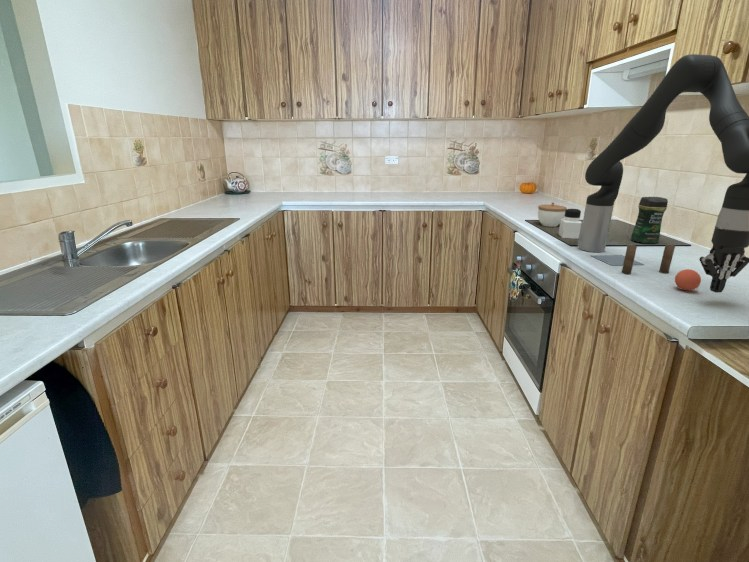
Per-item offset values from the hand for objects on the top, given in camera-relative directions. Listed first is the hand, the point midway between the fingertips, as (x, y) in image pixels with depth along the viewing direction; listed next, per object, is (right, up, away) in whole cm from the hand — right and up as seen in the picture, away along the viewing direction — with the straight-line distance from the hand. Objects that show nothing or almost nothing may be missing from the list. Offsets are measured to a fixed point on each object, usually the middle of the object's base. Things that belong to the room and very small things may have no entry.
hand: (715, 291), depth 112 cm
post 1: (-9, +5, +24) cm, 26 cm away
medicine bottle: (-6, +22, +72) cm, 75 cm away
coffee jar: (+22, +19, +65) cm, 71 cm away
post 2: (+4, +6, +25) cm, 26 cm away
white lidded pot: (-5, +30, +95) cm, 99 cm away
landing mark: (-5, +10, +38) cm, 39 cm away
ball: (-1, +3, +9) cm, 9 cm away
